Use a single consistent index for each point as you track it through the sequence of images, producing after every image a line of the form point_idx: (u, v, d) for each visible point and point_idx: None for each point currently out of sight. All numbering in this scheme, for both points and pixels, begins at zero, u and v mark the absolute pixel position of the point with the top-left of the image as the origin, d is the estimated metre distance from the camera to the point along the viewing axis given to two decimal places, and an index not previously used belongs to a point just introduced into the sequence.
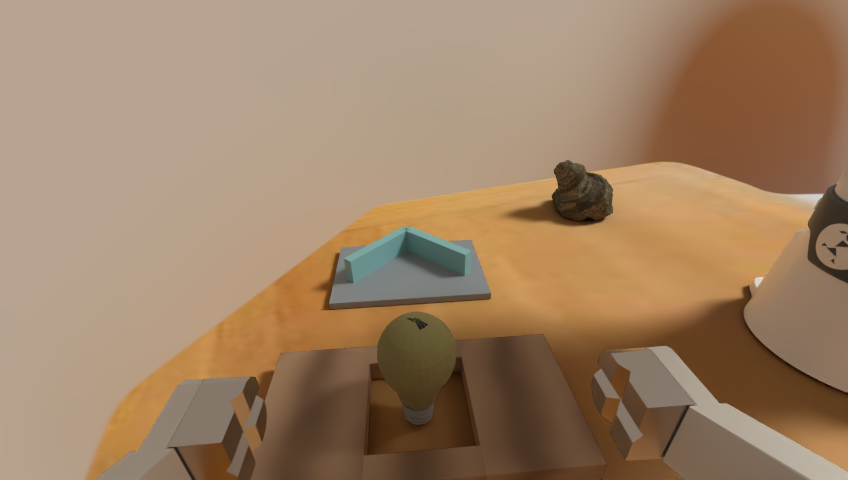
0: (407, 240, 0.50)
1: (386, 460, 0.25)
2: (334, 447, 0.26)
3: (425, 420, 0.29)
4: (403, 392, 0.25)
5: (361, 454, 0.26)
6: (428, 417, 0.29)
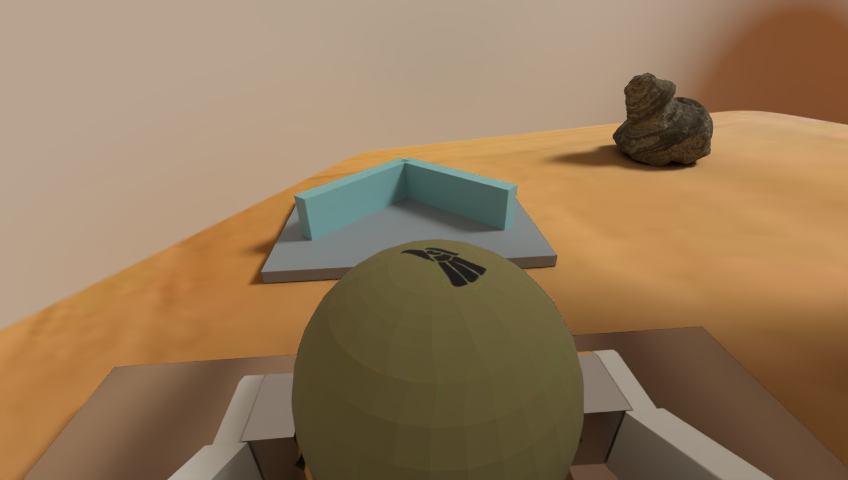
0: (406, 179, 0.31)
1: None
2: None
3: None
4: None
5: None
6: None
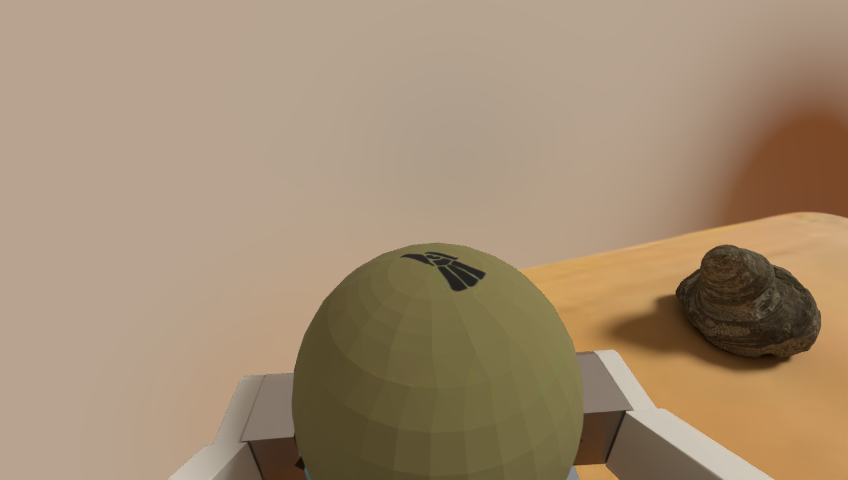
0: None
1: None
2: None
3: None
4: None
5: None
6: None
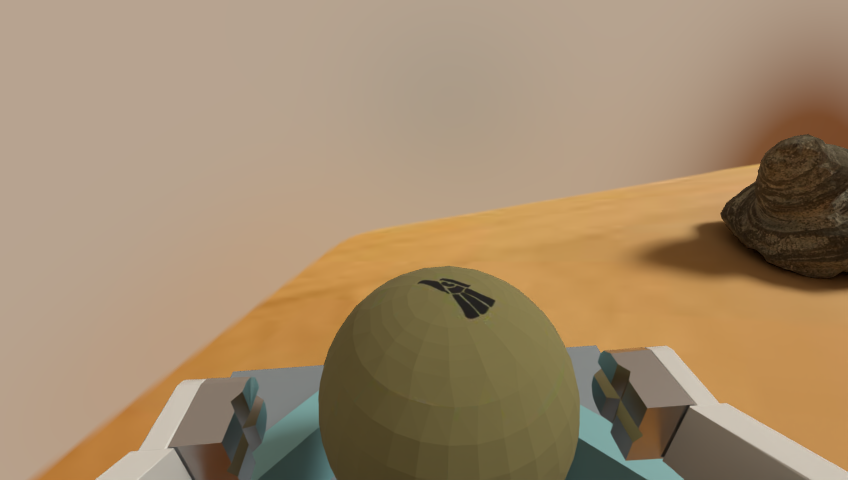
0: None
1: None
2: None
3: None
4: None
5: None
6: None
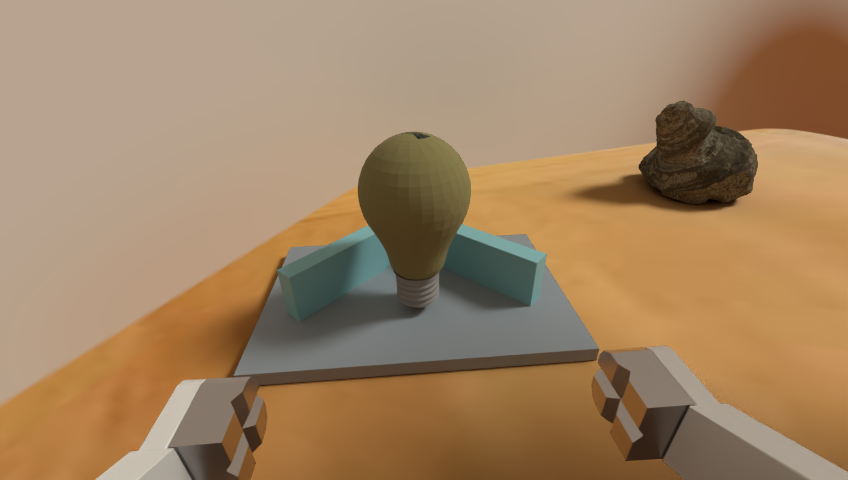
0: None
1: None
2: None
3: (427, 301, 0.21)
4: (395, 234, 0.17)
5: None
6: (431, 297, 0.21)
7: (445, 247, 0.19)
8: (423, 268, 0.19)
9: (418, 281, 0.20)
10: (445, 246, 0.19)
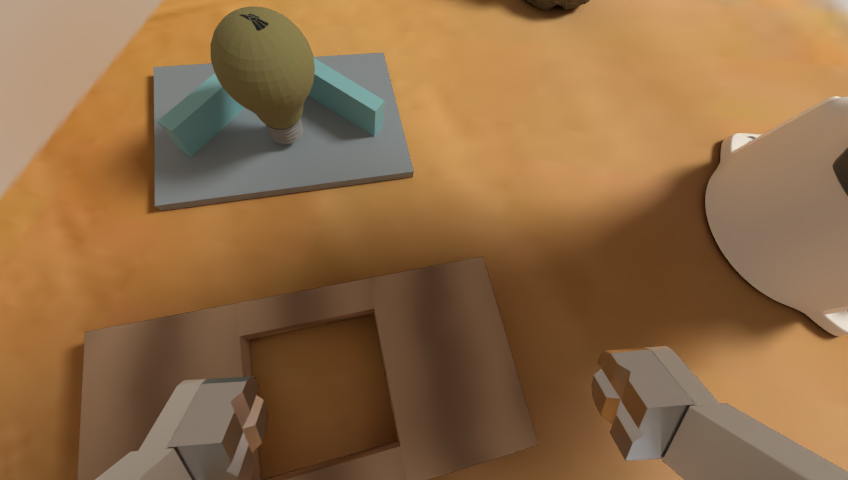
0: None
1: None
2: None
3: (294, 139, 0.28)
4: (254, 110, 0.22)
5: None
6: (296, 136, 0.28)
7: (299, 108, 0.25)
8: (284, 123, 0.25)
9: (283, 129, 0.26)
10: (299, 108, 0.24)
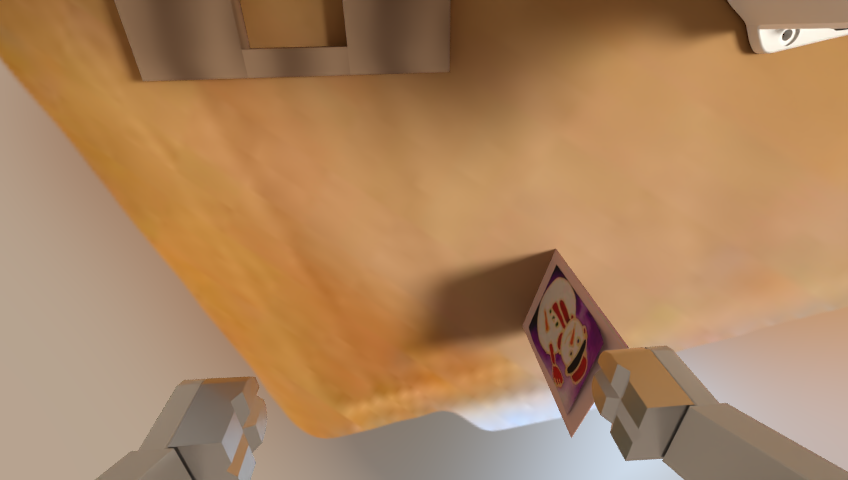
0: None
1: (263, 55, 0.29)
2: (211, 39, 0.28)
3: None
4: None
5: (239, 48, 0.29)
6: None
7: None
8: None
9: None
10: None
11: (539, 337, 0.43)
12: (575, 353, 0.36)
